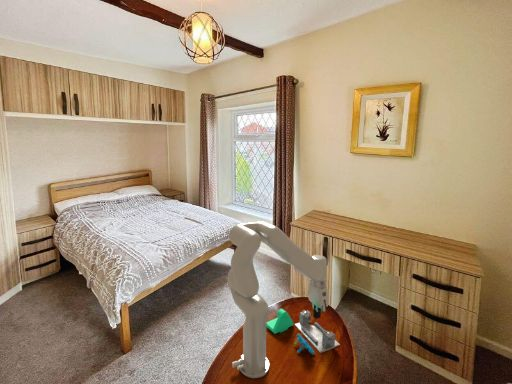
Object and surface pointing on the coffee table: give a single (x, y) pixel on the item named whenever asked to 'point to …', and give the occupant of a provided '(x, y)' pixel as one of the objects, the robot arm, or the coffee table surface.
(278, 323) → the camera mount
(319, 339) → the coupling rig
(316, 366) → the coffee table surface
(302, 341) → the gear
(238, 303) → the robot arm
